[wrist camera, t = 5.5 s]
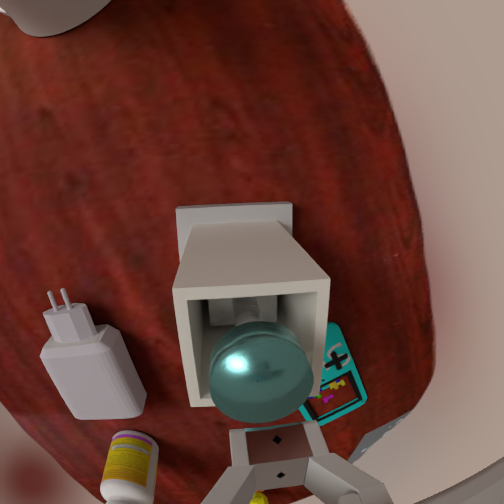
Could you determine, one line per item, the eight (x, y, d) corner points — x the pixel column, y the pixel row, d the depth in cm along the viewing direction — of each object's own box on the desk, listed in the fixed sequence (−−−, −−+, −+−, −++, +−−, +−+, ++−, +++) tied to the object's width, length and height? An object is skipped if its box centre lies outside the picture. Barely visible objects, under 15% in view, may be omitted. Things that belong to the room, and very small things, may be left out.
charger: (102, 273, 29) (148, 390, 34) (33, 287, 29) (83, 395, 33) (85, 292, 25) (141, 417, 29) (12, 306, 24) (72, 419, 29)
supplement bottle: (104, 429, 35) (83, 503, 23) (147, 425, 35) (134, 506, 23) (126, 457, 37) (113, 527, 25) (166, 455, 37) (160, 530, 25)
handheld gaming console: (337, 321, 33) (369, 402, 37) (334, 316, 34) (366, 397, 38) (265, 357, 33) (312, 430, 38) (264, 351, 34) (310, 425, 39)
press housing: (177, 206, 28) (137, 260, 13) (288, 201, 29) (359, 247, 14) (186, 308, 31) (170, 423, 16) (287, 301, 32) (338, 408, 17)
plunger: (206, 253, 23) (198, 345, 12) (272, 249, 24) (322, 335, 12) (210, 313, 25) (210, 429, 13) (272, 309, 25) (313, 418, 14)
